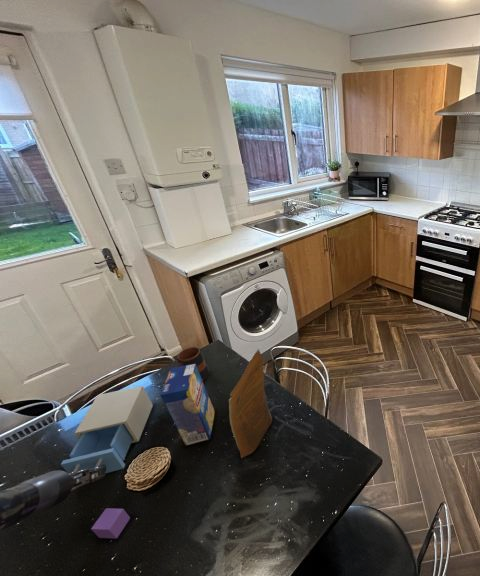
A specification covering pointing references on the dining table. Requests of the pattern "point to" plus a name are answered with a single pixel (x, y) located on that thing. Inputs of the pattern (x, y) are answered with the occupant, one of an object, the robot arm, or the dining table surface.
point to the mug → (193, 360)
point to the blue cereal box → (188, 403)
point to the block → (110, 523)
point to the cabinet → (118, 412)
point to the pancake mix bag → (249, 407)
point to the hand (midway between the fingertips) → (88, 472)
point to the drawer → (100, 450)
